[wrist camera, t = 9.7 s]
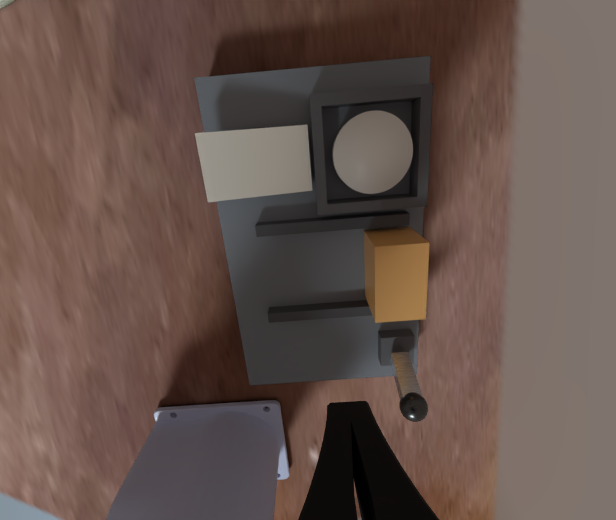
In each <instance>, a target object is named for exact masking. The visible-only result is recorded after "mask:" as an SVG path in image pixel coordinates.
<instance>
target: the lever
mask: <svg viewBox="0 0 616 520" xmlns="http://www.w3.org/2000/svg"><path fill="white" fill-rule="evenodd" d="M390 362H391V366H392V370H393V374H394V378H395V382H396V386H397V390H398V393H399V397H400V410H401V413H402V414H403V416H404V417H405V418H406V419H408V420H410V421H413V422H418V421H421V420H423V419H424V418H425V417H426V415H427V412H428V406H427V403H426V401H425V399H424V398H423V396H422V393H421V390H420V387H419V384H418V381H417V377H416V374H415V371H414V368H413V365H412V361H411V358H410V355H409V352H399V353H391V358H390Z"/></svg>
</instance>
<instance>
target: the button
mask: <svg viewBox="0 0 616 520" xmlns="http://www.w3.org/2000/svg"><path fill="white" fill-rule="evenodd" d="M331 156H332V163H333V166H334V169H335V171H336V173H337V175H338V176H339V177H340V179H341V180H342V181H343V182H344V183H345V184H346V185H347V186H349V187H350V188H352V189H353V190H355V191H358V192H361V193H366V194H375V193H380V192H384V191H386V190H388V189H390V188H392V187H393V186H395V185H396V184H397V183H398V182H399V181H400V180H401V179H402V178H403V177H404V176H405V174H406V172H407V171H408V169H409V167H410V164H411V161H412V156H413V143H412V138H411V135H410V133H409V130H408V129H407V127H406V125H405V124H404V123H403V122H402V121H401V120H400V119H399V118H398V117H396V116H395V115H393V114H391V113H388V112H385V111H379V110H376V111H367V112H364V113H361V114H359V115H357V116H355V117H353V118H352V119H350V120H349V121H347V122H346V123H345V124H344V125H343V126H342V127H341V128H340V130H339V131H338V133H337V134H336V136H335V139H334V141H333V145H332V152H331Z"/></svg>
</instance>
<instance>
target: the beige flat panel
mask: <svg viewBox="0 0 616 520" xmlns="http://www.w3.org/2000/svg"><path fill="white" fill-rule="evenodd" d="M195 137H196V142H197V147H198V153H199V158H200V163H201V168H202V174H203V179H204V184H205V189H206V195H207V200H208V202H216V201H225V200H233V199H242V198H251V197H260V196H269V195H278V194H287V193H296V192H304V191H312V179H311V166H310V153H309V140H308V126H307V125H296V126H283V127H270V128H257V129H244V130H231V131H218V132H205V133H195Z"/></svg>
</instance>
